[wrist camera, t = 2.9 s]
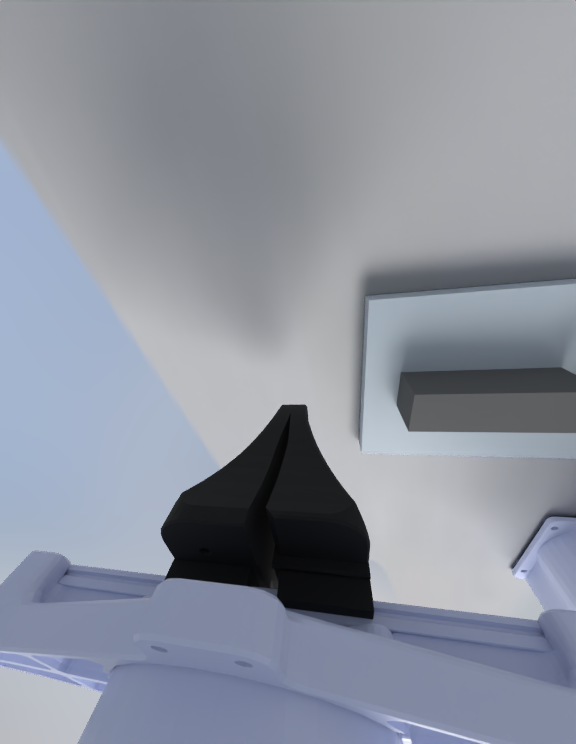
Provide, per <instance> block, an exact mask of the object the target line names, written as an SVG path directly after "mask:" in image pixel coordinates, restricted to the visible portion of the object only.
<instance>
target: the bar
mask: <svg viewBox="0 0 576 744" xmlns="http://www.w3.org/2000/svg"><path fill="white" fill-rule="evenodd" d="M396 406H397V408H398V410H399V412H400V414H401V416H402V419H403V421H404V423H405V425H406V427H407V430H408V432H503V433H576V375H575V374H573V373H571V372H569V371H568V370H566V369H564V368H562V367H555V368H522V369H489V370H456V371H423V372H401V374H400V382H399V390H398V398H397V405H396Z"/></svg>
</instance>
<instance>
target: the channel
mask: <svg viewBox="0 0 576 744" xmlns="http://www.w3.org/2000/svg"><path fill="white" fill-rule="evenodd" d="M555 367H562V368H564V369H566V370H568V371H569V372H571V373H573V374H575V375H576V278H575V279H563V280H551V281H539V282H527V283H515V284H503V285H491V286H479V287H467V288H455V289H443V290H431V291H419V292H407V293H395V294H383V295H371V296H365V319H364V342H363V365H362V387H361V410H360V433H359V444H360V449H361V454H396V455H436V456H476V457H517V458H557V459H576V433H503V432H408V430H407V427H406V425H405V423H404V421H403V419H402V416H401V414H400V412H399V410H398V408H397V406H396V405H397V398H398V390H399V382H400V374H401V372H423V371H456V370H489V369H522V368H555Z"/></svg>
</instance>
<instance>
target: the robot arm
mask: <svg viewBox="0 0 576 744" xmlns="http://www.w3.org/2000/svg"><path fill="white" fill-rule="evenodd" d="M161 536H162V538H163V540H164V542H165V544H166V545H167V547H168V548H169V550H170V552H171V553H172V555H173V556H174V558H175V559H174V561H173V563H172V565H171V567H170V569H169V571H168V574H167V576H161V575H154V574H146V573H138V572H129V571H121V570H113V569H112V570H111V569H104V568H96V567H88V566H79V565H71V562H70V561H69V560H68V559H67V558H66V557H65V556H63V555H61V554H59V553H54V552H45V551H32V552H31V553H30V555H28V557H26V559H25V560H24V561H23V562H22V563H21V564H20V565H19V566H18V567H17V568H16V569H15V570H14V571H13V572H12V573H11V574H10V575H9V576H8V578H7V579H6V580H5V581H4V582H3V583H2V584H1V585H0V666H1V667H5V668H10V669H14V670H18V671H22V672H26V673H31V674H34V675H39V676H43V677H47V678H50V679H54V680H58V681H62V682H66V683H69V684H73V685H76V686H80V687H84V688H87V689H91V690H95V691H98V692H102V695H101V697H100V699H99V701H98V703H97V705H96V707H95V709H94V711H93V713H92V715H91V717H90V719H89V721H88V723H87V725H86V728H85V729H84V731H83V734H82V736H81V738H80V740H79V742H78V744H576V518H570V517H549V518H548V519H546V521H545V522H544V524H543V525H542V527H541V528H540V530H539V531H538V533H537V534H536V536H535V537H534V539H533V540H532V542H531V543H530V545H529V546H528V548H527V549H526V551H525V552H524V554H523V555H522V557H521V558H520V560H519V561H518V563H517V564H516V566H515V567H514V569H513V570H512V574H513V575H514V577H516V578H519V579H526V581H527V582H528V584H529V586H530V587H531V589H532V591H533V592H534V594H535V595H536V597H537V599H538V600H539V602H540V604H541V605H542V607H543V609H544V610H545V611H544V612H542V613H541V614H540V616H539V618H538V621H536V620H528V619H520V618H511V617H503V616H495V615H487V614H478V613H470V612H462V611H453V610H445V609H437V608H428V607H420V606H412V605H403V604H395V603H386V602H378V601H373V598H372V591H371V584H370V569H369V562H368V561H369V551H370V540H369V536H368V532H367V529H366V526H365V524H364V521H363V519H362V516H361V514H360V512H359V510H358V507H357V505H356V503H355V501H354V500H353V499H352V498H351V497H350V495H349V494H348V493H347V492H346V491H345V489H344V488H343V487H342V485H341V484H340V483H339V481H338V480H337V479H336V477H335V476H334V474H333V472H332V471H331V469H330V468H329V466H328V465H327V463H326V461H325V460H324V458H323V456H322V454H321V452H320V450H319V448H318V446H317V444H316V441H315V439H314V437H313V434H312V431H311V428H310V425H309V421H308V411H307V406H306V405H282V406H281V407H280V409H279V410H278V411H277V413H276V414H275V416H274V417H273V418H272V420H271V421H270V422H269V424H268V425H267V426H266V427H265V429H264V430H263V431H262V432H261V433H260V434H259V435H258V437H257V438H256V439H255V440H254V441H253V442H252V443H251V444H250V445H249V446H248V447H247V448H246V449H245V450H244V451H243V452H242V453H241V454H240V455H238V456H237V457H236V458H235V459H233V460H232V461H231V462H230V463H228V464H227V465H226V466H225V467H223V468H222V469H220V470H219V471H218V472H216V473H215V474H213V475H212V476H210V477H209V478H207V479H205V480H204V481H202V482H200V483H199V484H197V485H195V486H193V487H192V488H190V489H188V490H186V491H184V492H183V493H182V494H181V495H180V497H179V499H178V500H177V501H176V503H175V505H174V507H173V508H172V510H171V512H170V514H169V515H168V517H167V519H166V521H165V522H164V524H163V526H162V528H161Z"/></svg>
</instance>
